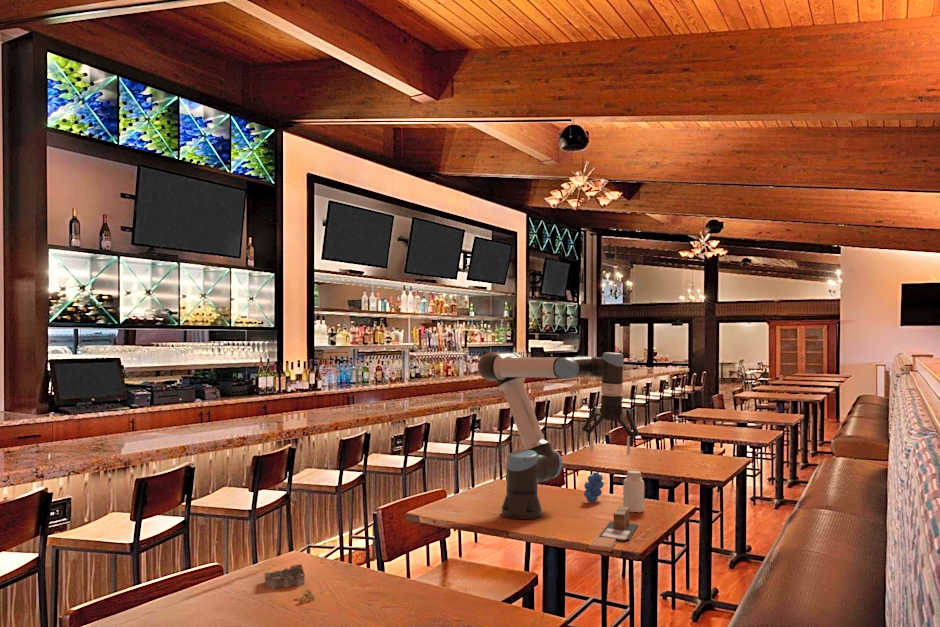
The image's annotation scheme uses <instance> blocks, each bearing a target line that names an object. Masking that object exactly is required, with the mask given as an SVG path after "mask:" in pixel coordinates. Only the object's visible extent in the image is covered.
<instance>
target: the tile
mask: <svg viewBox="0 0 940 627" xmlns="http://www.w3.org/2000/svg"><path fill="white" fill-rule="evenodd" d="M615 543H616V544H617V540H616V539H613V538H604V537H599V536H594V538H592V540H591V542H590V543H589V545H588V550H593V551H595V550H596V551H600V552H601V551H602V552H609V553H611V552H612V551H613V549H614V548H613V546H614V545H615V546H616V544H615ZM615 546H614V547H615ZM612 548H613V549H612Z"/></svg>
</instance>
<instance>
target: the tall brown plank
mask: <svg viewBox="0 0 940 627" xmlns="http://www.w3.org/2000/svg"><path fill="white" fill-rule="evenodd" d="M613 522H614V529H609V528H607V529H606V531H605V532H604V533H603V535H602V537H604V538H613V539H617V540H616V541H623V540H626V539H627V538H628V536H629V534H630V533H631V531H627V530H626V528H627V526H628V525H629V524H630V512H629V507H625V506H623V505H619V506H618V508H617V509H616V510H615V512H614V513H613Z"/></svg>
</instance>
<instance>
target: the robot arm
mask: <svg viewBox="0 0 940 627" xmlns="http://www.w3.org/2000/svg"><path fill="white" fill-rule="evenodd" d="M602 353H603V354H602V356H600V357H599V356H589V355H575V356H573V357H572V356H565V357H562V356H561V357H560V356H559V357H557V356H556V357H554V356H553V357H547V356H545V357H541V356H540V357H524V356H523V357H522V355H520V354H519V353H517V352H515V351H507V350H505V351H495V352H493V351H492V352H486V353H484V354H483V355H482V356H481V357H480V359H479V360H478V363H477V370H478V371H477V372H478V374H479V375H480V377H482V379H484V380H485V381H488V382H496V384H497V387H498V389H499V390H501V391H503V393H504V395H505V398H506V401H507V404H508V406H509V409H510V412H511V415H512V418H513V420H514V423H515V426H516V428H517V431H518V434H519V437H520V440H521V442H522V445H523V449H521V450H518V449H517V450H515V451H512V452H510V453H509V454H508V455H507V458H506V464H505V465H506V494H505V496H504V500H503V502H502V507H501V515H502V516H503V517H504V518H509V519H513V520H533V519H534V520H535V519H538V518H541V517H542V515H543V514H542V513H543V509H542V506H541V503H540V499H539V495H538V484H540V483H543V482H549V481H551V480H553V479H555V478H557V477H558V476H559V475H560V474H561V471H562V468H563V459H562V456H561V454H560V453H559V452H558V451H557V450H556V449H553V448H552V445H551V442H550V441H549V440H546V439H545V438H544V435H543V432H542V428H541V427H540V424H539V421H538V419H537V415H536V414H535V410H534V408H533V404H532V403H531V400H530V398H529V395H528V392H527V389H526V386H525V384H524V383H525V380H526V378H540V379H542V378H543V379H544V378H549V379H551V378H554V379H555V378H556V379H558V378H559V379H564V380H567V379H568V380H569V379H574V378H585V377H587V378H588V377H589V378H590V377H593V378H600V379H601V393H602V395H601V398H600V399H601V400H600V407H598V406H596V405H594V406H592V408H591V412H590V415H589V416H588V419H587V420H586V422H585V423H584V425H583V427H582V432H583V431H584V432H585V433H587V438H586V439H587V440H586V441H587V442H589V452H593V451H594V448H595V447H594V446H595V445H594V444H595V442H594V441H595V433H594V432H593V431H594V430H595V429H596V428H597V427H598V426H599V425H600V424H601V422H603V421H604V420H605V421H612V422H615V421H617V422H618V423H619V424H620V426H621V427H622V429H623V430H624V431H625V433H626V434H627V435H628V436H627V438H626V439H627V440H626V456H630V455H631V447H633V446H634V443H635V442H634V440H635V437H637V436H639V435H640V433H639V430H638V427H637V425H636V423H635V421H634V419H633V416H632V411H631V409H629V408H628V409H623V396H622V395H623V388H624V387H623V385H624V384H623V382H624V381H623V379H624V354H622V353H621V352H610V351H608V352H607V351H606V352H602ZM598 412H599V413H600V414H601V416H600V417H599V418H598V419H597V420H596V421H595V422H594V423H593V424H592V425H591V423H592V421H593V420H594V418H595V416H596V414H598ZM622 415H624V416H625V417H626V418H627V421H628V423H629V425H630V427H629V425H627V423H626V422H625V420H624V418H623V417H622ZM590 425H591V426H590Z"/></svg>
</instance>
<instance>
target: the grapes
mask: <svg viewBox="0 0 940 627" xmlns="http://www.w3.org/2000/svg"><path fill="white" fill-rule="evenodd" d="M602 480H603V475H602V474H601V473H600V474H599V472H598V471H594V472H593V473H592V474H590V475H589V476H587V481H586V482H585V483H584V489H585V490H584V492H583V495H584V497H585V498H586V501H587V503H591V502H593V501H595V502H596V501H597V500H598V497H600V496H601V495H602V493H603V491H602V489H603V487H604V485H605V484H604V482H603V481H602Z"/></svg>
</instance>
